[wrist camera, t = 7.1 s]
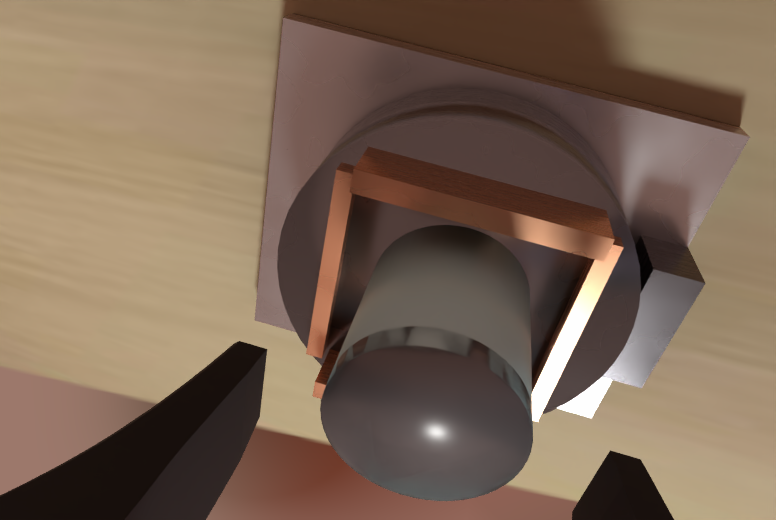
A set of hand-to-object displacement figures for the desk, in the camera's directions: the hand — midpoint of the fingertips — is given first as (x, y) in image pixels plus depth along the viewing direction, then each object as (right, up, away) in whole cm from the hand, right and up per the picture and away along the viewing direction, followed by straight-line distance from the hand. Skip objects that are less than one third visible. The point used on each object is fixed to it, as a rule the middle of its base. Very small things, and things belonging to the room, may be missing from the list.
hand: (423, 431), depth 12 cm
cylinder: (+1, +3, +4) cm, 5 cm away
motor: (+2, +4, +7) cm, 9 cm away
